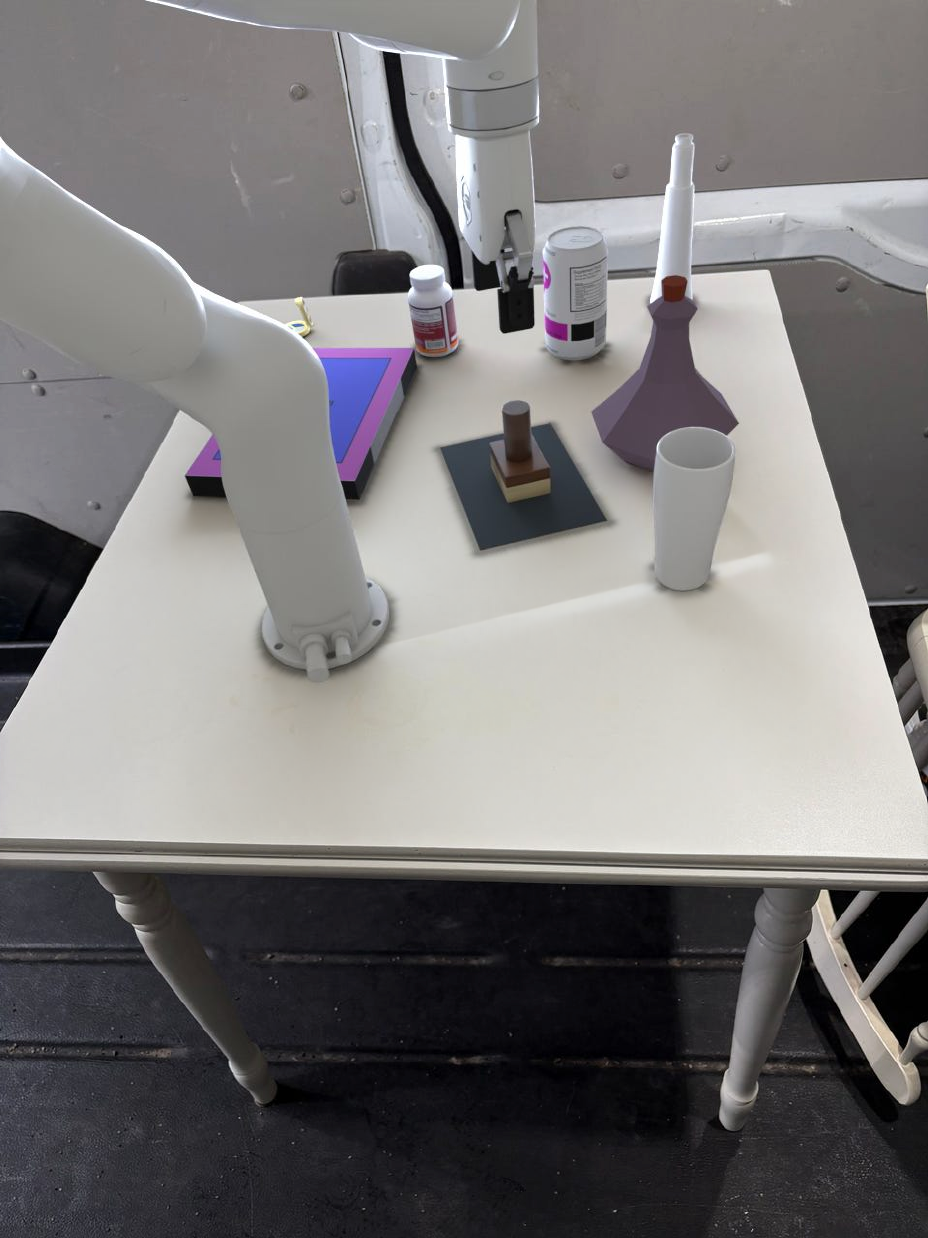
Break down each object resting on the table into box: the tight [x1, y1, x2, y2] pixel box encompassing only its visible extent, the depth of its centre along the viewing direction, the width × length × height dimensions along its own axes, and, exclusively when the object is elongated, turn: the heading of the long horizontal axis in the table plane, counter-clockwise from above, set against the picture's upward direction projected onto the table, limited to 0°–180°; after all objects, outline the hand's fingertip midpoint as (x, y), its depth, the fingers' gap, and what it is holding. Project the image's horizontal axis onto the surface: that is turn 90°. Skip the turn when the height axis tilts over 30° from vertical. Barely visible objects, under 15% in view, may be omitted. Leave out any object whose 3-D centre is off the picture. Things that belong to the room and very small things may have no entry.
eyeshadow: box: [284, 296, 314, 338], centre depth 126 cm, size 4×5×5 cm
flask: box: [590, 275, 740, 473], centre depth 90 cm, size 16×16×20 cm
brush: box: [489, 399, 551, 503], centre depth 92 cm, size 7×5×10 cm
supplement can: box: [542, 225, 609, 361], centre depth 110 cm, size 8×8×15 cm
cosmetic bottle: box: [649, 132, 696, 304], centre depth 114 cm, size 6×6×22 cm
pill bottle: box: [407, 264, 459, 358], centre depth 115 cm, size 6×6×11 cm
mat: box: [439, 422, 608, 551], centre depth 95 cm, size 20×14×1 cm
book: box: [184, 347, 418, 501], centre depth 107 cm, size 21×3×30 cm
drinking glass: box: [652, 427, 737, 592], centre depth 77 cm, size 7×7×15 cm
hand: (503, 307), depth 80 cm, fingers open, 9 cm apart
